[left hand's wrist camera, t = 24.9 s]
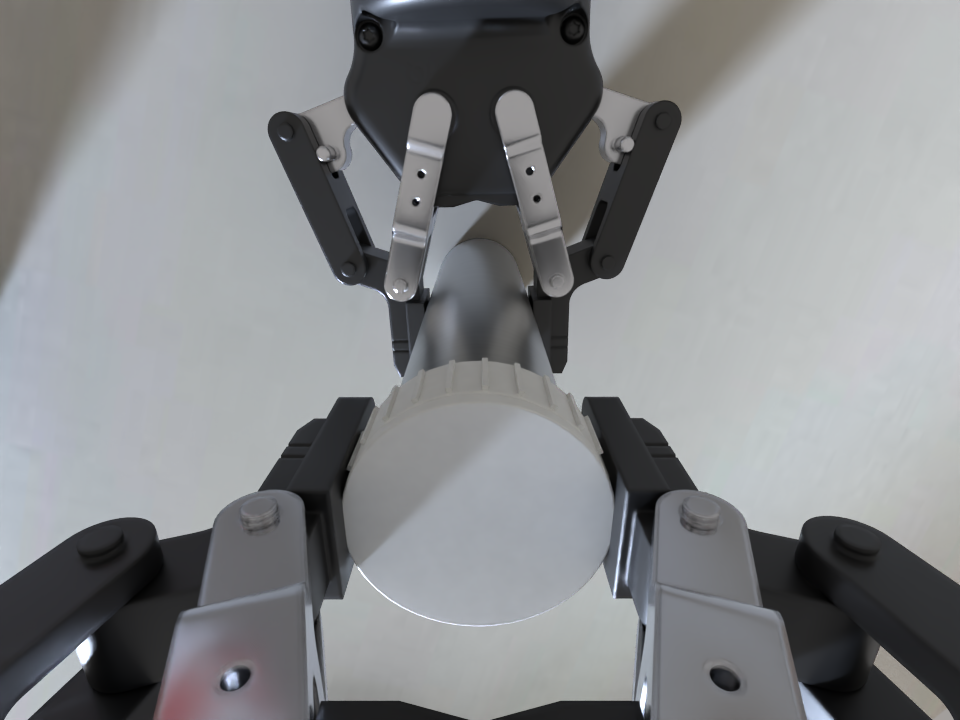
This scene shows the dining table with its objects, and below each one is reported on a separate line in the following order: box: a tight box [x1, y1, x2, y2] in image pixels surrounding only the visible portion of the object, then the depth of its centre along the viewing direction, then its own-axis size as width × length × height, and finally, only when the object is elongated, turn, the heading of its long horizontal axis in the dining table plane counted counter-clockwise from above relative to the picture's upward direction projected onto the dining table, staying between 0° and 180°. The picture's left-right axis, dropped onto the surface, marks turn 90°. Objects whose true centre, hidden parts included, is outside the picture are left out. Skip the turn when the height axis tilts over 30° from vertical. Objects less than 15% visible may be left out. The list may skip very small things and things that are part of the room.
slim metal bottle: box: [401, 239, 557, 386], centre depth 18 cm, size 4×4×18 cm
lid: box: [342, 358, 614, 626], centre depth 10 cm, size 5×5×2 cm
